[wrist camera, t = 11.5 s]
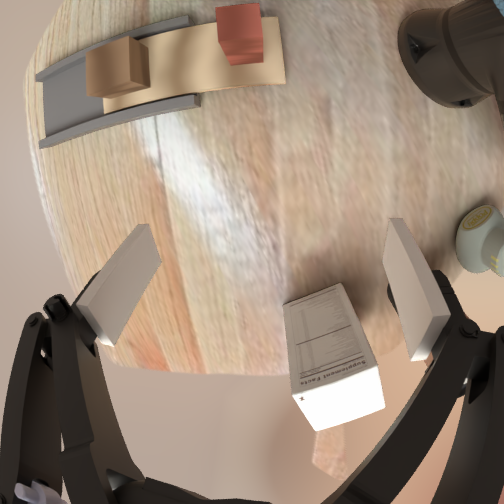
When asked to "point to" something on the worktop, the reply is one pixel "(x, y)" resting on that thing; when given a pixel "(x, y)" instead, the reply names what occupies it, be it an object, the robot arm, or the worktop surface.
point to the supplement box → (330, 359)
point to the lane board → (91, 108)
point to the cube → (117, 68)
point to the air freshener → (481, 241)
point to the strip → (211, 57)
